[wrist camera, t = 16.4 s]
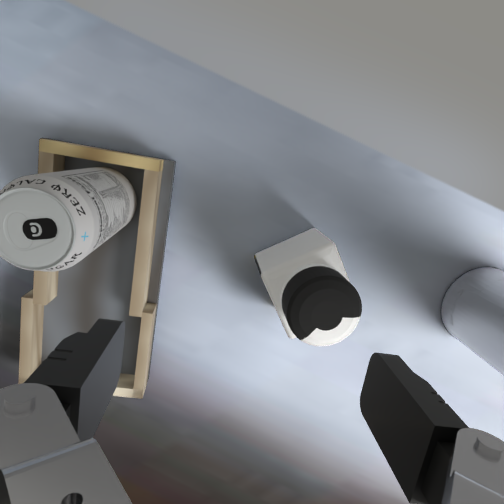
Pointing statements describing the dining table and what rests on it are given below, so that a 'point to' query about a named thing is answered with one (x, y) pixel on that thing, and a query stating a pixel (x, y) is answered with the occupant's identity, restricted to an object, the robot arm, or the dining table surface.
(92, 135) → the dining table surface
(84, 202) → the energy drink can
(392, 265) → the dining table surface
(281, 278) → the medicine bottle
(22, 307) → the keyhole guide
